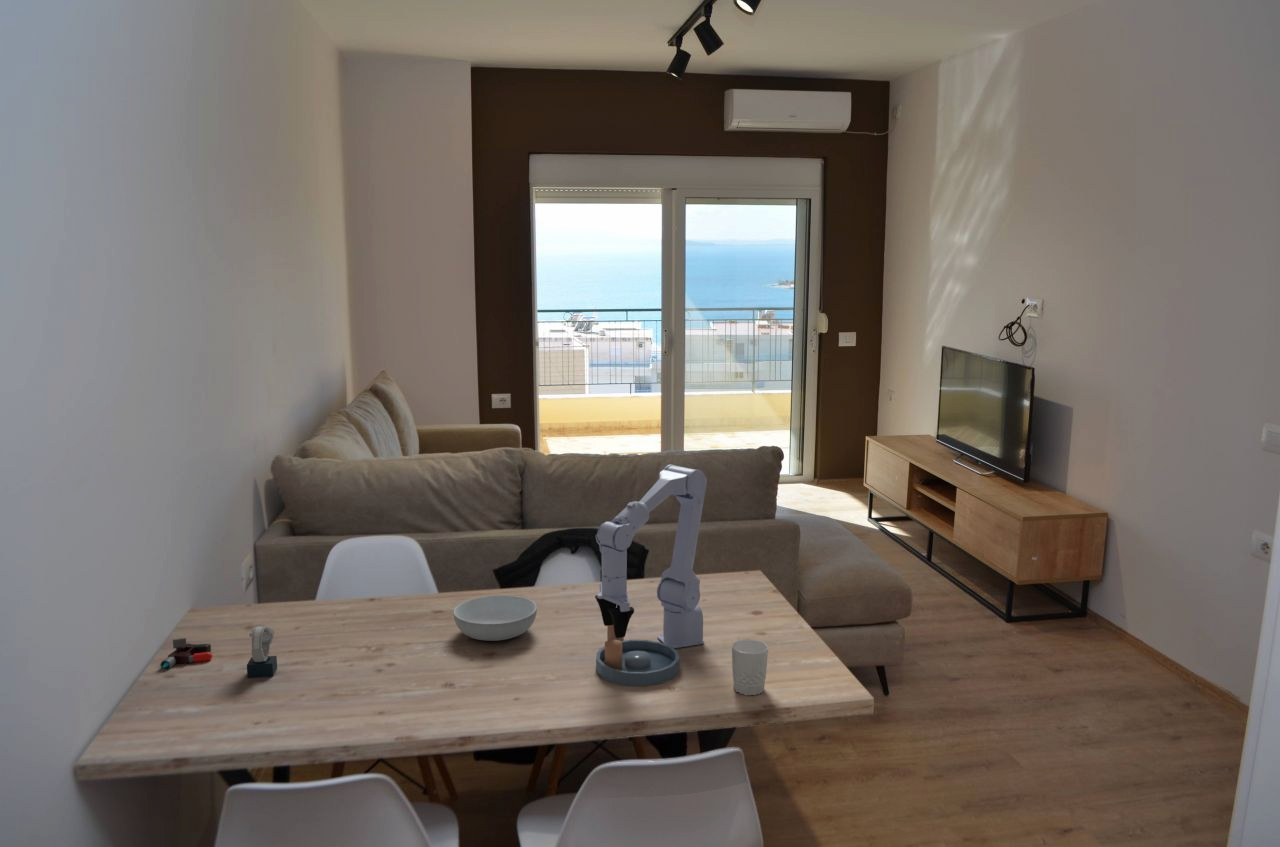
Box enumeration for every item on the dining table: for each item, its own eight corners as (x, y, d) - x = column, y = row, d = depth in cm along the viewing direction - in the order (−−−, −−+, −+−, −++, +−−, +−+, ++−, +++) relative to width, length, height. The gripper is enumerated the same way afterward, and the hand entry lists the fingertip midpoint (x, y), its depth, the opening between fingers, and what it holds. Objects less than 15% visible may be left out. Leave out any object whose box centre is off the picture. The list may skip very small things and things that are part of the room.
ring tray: (659, 647, 233) (659, 635, 233) (691, 678, 216) (692, 665, 215) (585, 658, 226) (585, 646, 226) (612, 691, 209) (612, 678, 208)
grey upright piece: (279, 665, 222) (276, 620, 220) (271, 679, 214) (268, 633, 212) (253, 666, 221) (250, 621, 219) (245, 681, 213) (242, 634, 211)
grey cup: (743, 700, 205) (744, 656, 204) (724, 685, 212) (725, 643, 211) (774, 692, 209) (775, 649, 207) (753, 678, 216) (754, 637, 214)
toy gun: (155, 672, 219) (154, 652, 218) (185, 651, 230) (183, 632, 230) (196, 673, 218) (194, 653, 217) (223, 652, 230) (222, 633, 229)
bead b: (620, 640, 237) (620, 617, 236) (625, 646, 234) (625, 622, 233) (605, 642, 236) (605, 619, 235) (610, 648, 232) (610, 625, 231)
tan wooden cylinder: (618, 663, 221) (618, 638, 220) (624, 669, 218) (624, 645, 217) (602, 665, 220) (602, 641, 219) (608, 672, 216) (608, 647, 215)
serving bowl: (527, 615, 254) (527, 590, 253) (545, 644, 235) (545, 618, 233) (449, 624, 248) (448, 598, 247) (460, 655, 228) (459, 628, 227)
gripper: (587, 566, 222) (587, 622, 224) (608, 586, 209) (608, 645, 211) (615, 563, 225) (615, 618, 227) (638, 582, 211) (638, 640, 214)
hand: (614, 630), depth 219 cm, fingers open, 7 cm apart
